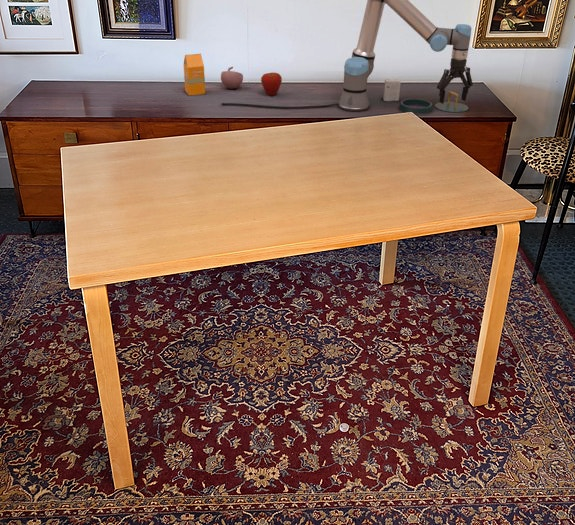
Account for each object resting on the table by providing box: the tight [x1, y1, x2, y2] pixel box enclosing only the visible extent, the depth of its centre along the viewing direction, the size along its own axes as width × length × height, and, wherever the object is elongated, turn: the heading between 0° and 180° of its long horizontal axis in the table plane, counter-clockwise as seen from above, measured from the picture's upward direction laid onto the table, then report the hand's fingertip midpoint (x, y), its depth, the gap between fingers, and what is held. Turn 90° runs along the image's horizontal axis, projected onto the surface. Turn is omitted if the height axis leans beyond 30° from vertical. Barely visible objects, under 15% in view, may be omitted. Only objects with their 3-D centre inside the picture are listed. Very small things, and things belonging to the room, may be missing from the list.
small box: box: [382, 78, 401, 102], centre depth 331 cm, size 8×6×10 cm
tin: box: [399, 98, 433, 114], centre depth 320 cm, size 16×16×3 cm
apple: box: [260, 72, 283, 97], centre depth 334 cm, size 11×11×12 cm
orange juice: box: [183, 53, 206, 96], centre depth 333 cm, size 8×9×20 cm
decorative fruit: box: [220, 66, 244, 90], centre depth 343 cm, size 12×12×12 cm
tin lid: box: [434, 90, 469, 114], centre depth 320 cm, size 17×17×8 cm
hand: (452, 101), depth 321 cm, fingers open, 12 cm apart
